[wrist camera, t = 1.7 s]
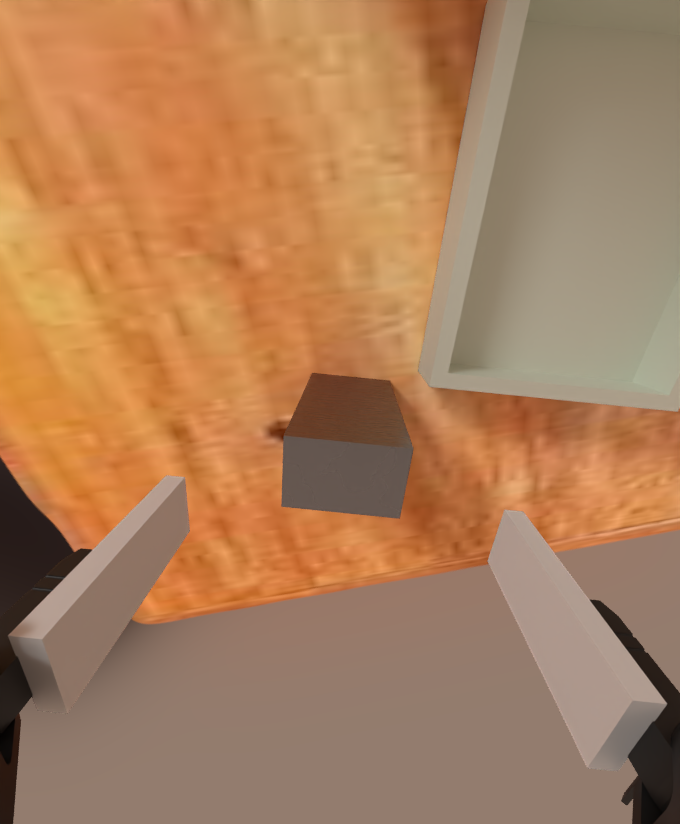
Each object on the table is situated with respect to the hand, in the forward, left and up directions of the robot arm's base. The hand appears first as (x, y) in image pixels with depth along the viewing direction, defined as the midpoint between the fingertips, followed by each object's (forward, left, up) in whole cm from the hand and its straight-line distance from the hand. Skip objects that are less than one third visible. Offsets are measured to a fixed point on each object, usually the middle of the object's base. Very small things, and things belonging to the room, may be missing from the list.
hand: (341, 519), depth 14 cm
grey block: (+3, 0, -13) cm, 14 cm away
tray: (-13, +13, -14) cm, 23 cm away
